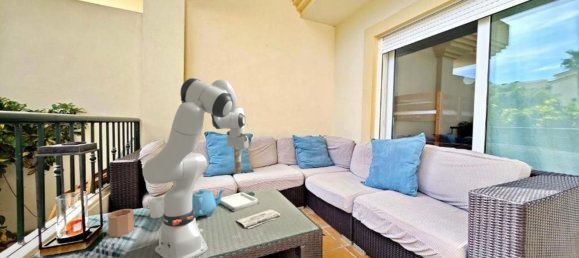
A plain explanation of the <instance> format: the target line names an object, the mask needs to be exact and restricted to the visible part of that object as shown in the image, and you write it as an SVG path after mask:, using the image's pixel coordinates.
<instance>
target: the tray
mask: <svg viewBox="0 0 579 258" xmlns="http://www.w3.org/2000/svg"><path fill="white" fill-rule="evenodd" d="M259 204H260V199H259V198H256V197H254V196H252V195H250V194H248V193H245V192H243V191H241V192H238V193H237V192H236V193H235V194H229V195H227V196H226V195H225V196H222V197H221V202H220V203H219V205H222V206H224V207H226V208H227V209H229V210H231V211H232V212H238V211H242V210H243V209H247V208H250V207H252V206H256V205H259Z"/></svg>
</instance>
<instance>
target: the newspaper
mask: <svg viewBox="0 0 579 258" xmlns="http://www.w3.org/2000/svg"><path fill="white" fill-rule="evenodd" d="M278 217H281V214H280V213H279V212H278V211H275V210H273V209H267V210H265V211H261V212H258V213H255V214H252V215H249V216H247V217H243V218H239V219H236V220H235V222H238V223H240V224H242V225H243V228H244V229H248V230H249V229H252V228H254V227H256V226H258V225H261V224H265V223H267V222H270V221H274V220H275V219H277V218H278Z"/></svg>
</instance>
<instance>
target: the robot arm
mask: <svg viewBox="0 0 579 258" xmlns="http://www.w3.org/2000/svg"><path fill="white" fill-rule="evenodd" d="M179 95H180V101H181V104H180V105H179V106H178V108H177V110H176V112H175V115H174V118H173V121H172V124H171V130H170V133H169V136H168V140H167V142H166V143H165V145H164V147H163V148H162V149H161V150H160V151H158V153H157V154H156V155H154V156H153V157H152V158H150V159H148V160H147V161H146V162H145V163H144V165H143V168H142V176H143V178H144V180H145V181H146V182H147V183H149V184H151V185H160V184H161V185H162V184H167V183H173V182H174V185H173V186H172V187H171V188H170V189H168V190H167V191H166V193H164V196H163V197H164V213H163V216H162V223H163V224H162V226H161V227H160V229H159V232H158V233H159V236H158V237H159V238H158V245H157V246H156V247H155V248H154V252H155V253H156V254H158V255H159V256H161V257H162V258H197V257H199V256H201V255H203V254H204V253H206V252H207V251H208V248H209V247H208V246H207V242H206V241H205V239H204V237H203V234H204V229H203V228H199V227H200V223H199V222H197V220H196V218H195V217H194V210H193V208H192V197H193V194H194V193H193V192H194V188H195V187H196V183H197V181H198V180H199V178H200V177H201V176H202V175H203V174H204V173H205V172H206V169H207V166H208V161H207V158H206V157H205V155H204V154H202V153H198V152H195V151H196V149H197V148H198V145H199V142H200V138H201V134H202V131H203V126H204V120H205V119H204V118H205V114H206V113H207V114H210V117H211V123H212V126H213V127H214V128H215V129H216V130H219V129H220V130H223V129H227V131H226V143H227V145H226V146H228V147H230V148H232V151H233V152H234V149H239V153H238V155H241V156H242V155H243V151H244V150H249V147H250V143H249V137H248V136H247V134H246V130H245V125H246V116H245V110H244V108H243V107H241V106H238V97H237V94H236V91H235V89H234V88H233V86H232V85H231V84H230V83H229V82H228V81H227V80H225V79H217V80H214V81H213V82H212V83H211V84H210V83H207V82H204V81H202V80H200V79H198V78H193V77H192V78H191V77H190V78H188V79H186V80H185V81H184V82H183V83H182V84H181V87H180V94H179Z"/></svg>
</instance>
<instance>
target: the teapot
mask: <svg viewBox="0 0 579 258" xmlns="http://www.w3.org/2000/svg"><path fill="white" fill-rule="evenodd" d="M198 190H199V191H195V192H194V193H193V197H192V208H193V210H194V217H195V219H196V218H199V217H200V216H205V217H206V218H210V217H211V216H212V214H213V212H214V211H216V209H217V207H218V205H220V202H221V198H222V197H223V195H222V194H223V193H224V191H225V190H226V188H223V189H220V190H219V192H218V197H217V198H216V196H215V195H214V194H213V193H212V191H210V190H207V189H206V188H201V189H198Z"/></svg>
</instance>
